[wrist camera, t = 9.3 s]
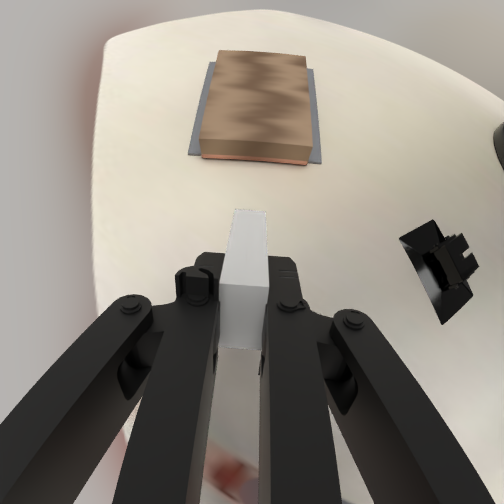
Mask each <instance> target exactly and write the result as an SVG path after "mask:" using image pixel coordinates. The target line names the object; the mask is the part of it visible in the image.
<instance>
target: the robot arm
mask: <svg viewBox="0 0 504 504" xmlns="http://www.w3.org/2000/svg"><path fill="white" fill-rule="evenodd" d="M494 143H495V148H496V151H497V154H498V157H499V159H500V162H501V164H502V166H503V168H504V122H503V123H502V124H501V125H500V126H499V127H498V128H497V129H496V131H495V133H494ZM175 283H176V296H177V298H176V300H175V302H172V303H169V304H164V305H156V306H152V305H151V302H150V300H149V299H148V298H146V297H144V296H142V295H136V294H133V295H126V296H123V297H120V298H119V299H117V300H116V301H114V302H113V303H112V304H111V305H110V306H109V307H108V308H107V309H106V310H105V311H104V312H103V313H102V314H101V315H100V316H99V317H98V318H97V319H96V320H95V321H94V322H93V323H92V324H91V325H90V326H89V327H88V328H87V329H86V330H85V331H84V333H82V334H81V335H80V337H79V338H78V339H77V340H76V341H75V342H74V343H73V344H72V345H71V346H70V347H69V348H68V349H67V350H66V351H65V352H64V353H63V354H62V355H61V356H60V358H59V359H58V360H57V361H56V362H55V363H54V364H53V365H52V366H51V367H50V368H49V369H48V371H47V372H46V373H45V374H44V375H43V376H42V377H41V378H40V379H39V380H38V381H37V383H36V384H35V385H34V386H33V387H32V388H31V389H30V390H29V392H28V393H27V394H26V395H25V396H24V397H23V398H22V400H21V401H20V402H19V403H18V404H17V405H16V406H15V408H14V409H13V410H12V411H11V412H10V414H9V415H8V416H7V417H6V418H5V420H4V421H3V422H2V423H1V424H0V504H73V503H74V501H75V500H76V498H77V497H78V495H79V493H80V492H81V490H82V489H83V487H84V485H85V484H86V482H87V481H88V479H89V477H90V476H91V475H92V473H93V471H94V470H95V468H96V466H97V465H98V463H99V462H100V460H101V459H102V457H103V456H104V454H105V453H106V451H107V450H108V448H109V446H110V445H111V443H112V442H113V440H114V439H115V437H116V436H117V434H118V432H119V431H120V429H121V428H122V426H123V425H124V423H125V422H126V420H127V419H128V417H129V416H130V414H131V412H132V411H133V409H134V408H135V406H136V405H137V403H138V402H139V400H140V399H141V397H142V399H141V402H140V406H139V409H138V412H137V415H136V419H135V422H134V425H133V429H132V432H131V435H130V439H129V442H128V446H127V449H126V453H125V457H124V460H123V464H122V468H121V471H120V475H119V479H118V482H117V487H116V490H115V494H114V498H113V502H112V504H199V503H200V494H201V486H202V477H203V469H204V460H205V452H206V444H207V436H208V428H209V421H210V413H211V405H212V398H213V390H214V383H215V376H216V368H217V361H218V344H219V347H224V348H236V349H251V350H261V347H262V352H261V359H260V366H259V374H258V375H260V427H259V489H258V504H342V500H341V492H340V484H339V476H338V469H337V462H336V455H335V448H334V441H333V434H332V428H331V421H330V415H329V409H328V405H329V408H330V410H331V412H332V414H333V416H334V418H335V420H336V422H337V425H338V427H339V429H340V431H341V433H342V435H343V437H344V439H345V442H346V444H347V446H348V448H349V450H350V452H351V454H352V457H353V459H354V461H355V463H356V465H357V467H358V469H359V471H360V474H361V476H362V478H363V480H364V482H365V484H366V486H367V489H368V491H369V493H370V495H371V497H372V499H373V501H374V504H495V502H494V500H493V499H492V497H491V495H490V493H489V492H488V490H487V488H486V486H485V485H484V483H483V481H482V480H481V478H480V476H479V475H478V473H477V471H476V470H475V468H474V467H473V465H472V463H471V462H470V460H469V458H468V457H467V455H466V454H465V452H464V451H463V449H462V447H461V446H460V444H459V443H458V441H457V440H456V438H455V437H454V435H453V433H452V432H451V430H450V429H449V427H448V426H447V424H446V423H445V421H444V420H443V418H442V417H441V415H440V414H439V412H438V411H437V409H436V408H435V407H434V405H433V404H432V402H431V401H430V399H429V398H428V396H427V395H426V393H425V392H424V391H423V389H422V388H421V386H420V385H419V383H418V382H417V381H416V379H415V378H414V376H413V375H412V374H411V372H410V371H409V369H408V368H407V367H406V365H405V364H404V363H403V361H402V360H401V358H400V357H399V356H398V354H397V353H396V352H395V350H394V349H393V348H392V346H391V345H390V343H389V342H388V341H387V339H386V338H385V337H384V335H383V334H382V333H381V331H380V330H379V329H378V328H377V326H376V325H375V324H374V322H373V321H372V320H371V319H370V318H369V317H368V316H367V315H366V314H364V313H362V312H360V311H357V310H353V309H344V310H340V311H338V312H337V313H336V314H335V315H334V318H330V317H326V316H323V315H320V314H317V313H315V312H313V311H311V310H310V307H309V305H308V303H307V302H306V301H305V300H304V299H303V298H302V293H301V288H300V283H299V279H298V273H297V267H296V264H295V263H294V262H293V260H292V259H291V258H290V257H278V256H268V250H267V230H266V211H256V210H243V209H235V211H234V216H233V220H232V225H231V230H230V234H229V239H228V244H227V248H226V253H225V254H224V253H211V252H203V253H202V254H201V255H200V256H198V257H197V259H196V262H195V264H194V266H190V267H185V268H183V269H181V270H179V271H178V272H177V273H176V274H175Z"/></svg>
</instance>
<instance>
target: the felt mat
mask: <svg viewBox="0 0 504 504" xmlns="http://www.w3.org/2000/svg"><path fill="white" fill-rule="evenodd" d="M215 64H216V62H210V63H209V66H208V70H207V74H206V78H205V82H204V85H203V89H202V93H201V97H200V101H199V106H198V110H197V114H196V118H195V123H194V127H193V132H192V136H191V141H190V145H189V150H188V155H202V154H201V149H200V144H199V134H200V130H201V125H202V120H203V115H204V111H205V106H206V102H207V97H208V93H209V88H210V84H211V80H212V76H213V72H214V68H215ZM307 76H308V87H309V98H310V111H311V124H312V140H313V148H312V151H311V154H310V157H309V160H308V163H315V164H321V163H322V160H321V146H320V133H319V121H318V110H317V100H316V91H315V82H314V73H313V69H308V68H307Z"/></svg>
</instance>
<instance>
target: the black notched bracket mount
mask: <svg viewBox="0 0 504 504" xmlns="http://www.w3.org/2000/svg"><path fill="white" fill-rule="evenodd" d="M445 239H446V240H445ZM399 240H400V242H401V244H402V245H403V247H404V249H405V251H406V253H407V255H408V256H409V258H410V260H411V262H412V264H413V266H414V268H415V270H416V272H417V274H418V276H419V278H420V280H421V282H422V284H423V286H424V288H425V290H426V292H427V294H428V296H429V298H430V300H431V303H432V305H433V307H434V309H435V311H436V313H437V316H438V318H439V320H440V323H441V324H442V325H443V324H445V323H446V322H447V321H448V320H449V319H450V318H451V317H452V316H453V315H454V314H455V313H456V312H457V311H458V310H459V309H461V308H462V307H463V306H464V305H465V304H466V303H467V302H468V301H469V300H470V299H471V298H472V297H473V293H472V291H471V289H470V287H469V285H468V282H467V280H466V279H468V278H470V276H471V275H472V274H473V273H474V271H475V270H476V269H477V268H478V267H479V265H478V263H477V261H476V259H475V257H474V255H473V253H470V254H469V255H467V256H466V257H465V258H464V256H463V254H462V253H463V252H464V251H465V250H467V249H468V248H469V245H468V243H467V241H466V240H465V238H464V236H463V234H462V233H461V234H459V235H458V236H456V235H455V234H454V235H452V236H451V237H449V235H448V236H447V237H445V238H444V236H443V234H442V233H441V231H440V229H439V227H438V226H437V224H436V222H435V221H434V220H431V221H429V222H427V223H425V224H424V225H422V226H420V227H418V228H416V229H414V230H412V231H411V232H409V233H407V234H405V235H403V236H401V237H400V238H399Z"/></svg>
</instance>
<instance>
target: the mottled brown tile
mask: <svg viewBox="0 0 504 504" xmlns="http://www.w3.org/2000/svg"><path fill="white" fill-rule="evenodd" d="M199 144H200V149H201V154H202V158H221V159H240V160H256V161H269V162H281V163H292V164H302V165H307V163H308V160H309V157H310V154H311V151H312V148H313V140H312V124H311V111H310V98H309V87H308V76H307V66H306V57H305V56H298V55H289V54H280V53H268V52H254V51H228V50H219V52H218V56H217V60H216V64H215V68H214V72H213V76H212V80H211V84H210V88H209V93H208V97H207V102H206V106H205V111H204V115H203V120H202V125H201V130H200V134H199Z"/></svg>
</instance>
